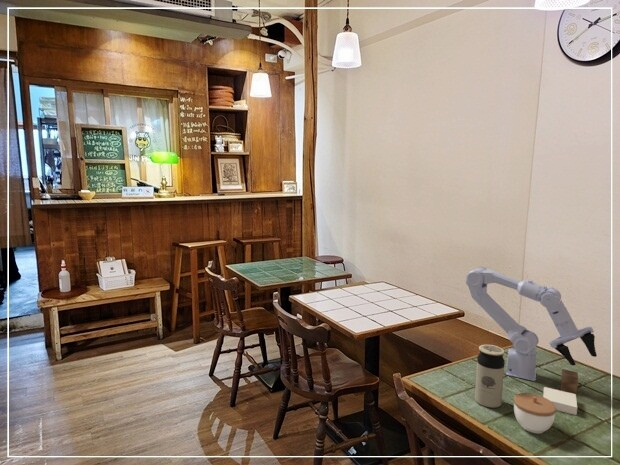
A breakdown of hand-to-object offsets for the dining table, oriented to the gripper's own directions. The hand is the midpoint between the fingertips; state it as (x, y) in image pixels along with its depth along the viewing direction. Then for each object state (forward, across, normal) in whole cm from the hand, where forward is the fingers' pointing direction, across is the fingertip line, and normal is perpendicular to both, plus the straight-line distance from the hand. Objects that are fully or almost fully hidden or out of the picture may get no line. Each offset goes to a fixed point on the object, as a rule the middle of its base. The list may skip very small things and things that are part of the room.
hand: (583, 360), depth 137 cm
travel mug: (-1, -37, -6) cm, 37 cm away
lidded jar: (+6, -31, -18) cm, 36 cm away
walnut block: (+8, -8, +4) cm, 12 cm away
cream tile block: (+8, -16, -5) cm, 19 cm away
